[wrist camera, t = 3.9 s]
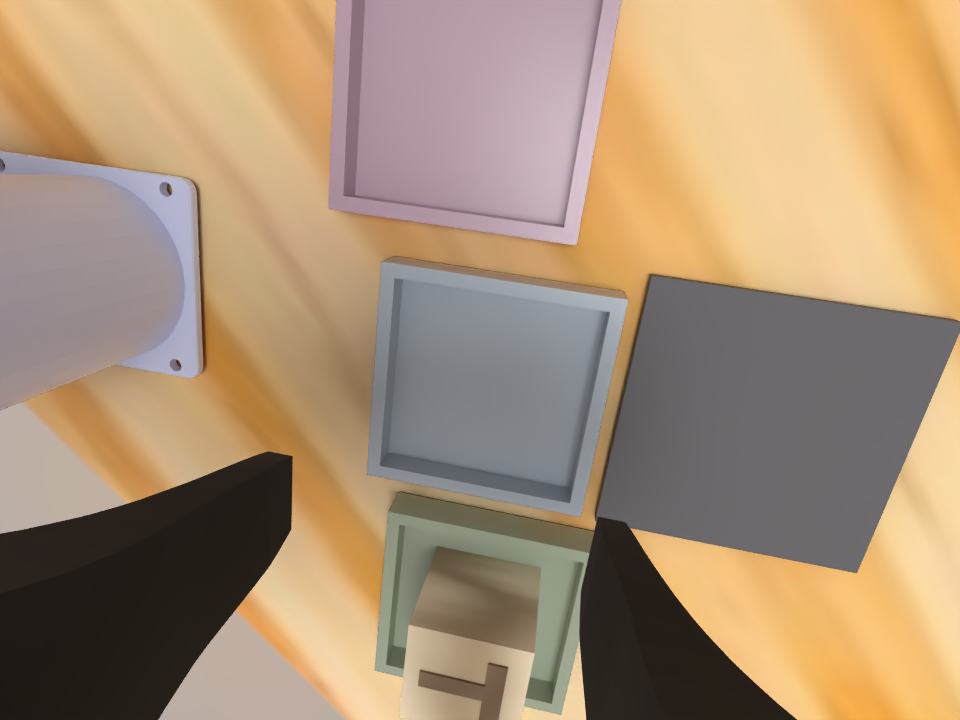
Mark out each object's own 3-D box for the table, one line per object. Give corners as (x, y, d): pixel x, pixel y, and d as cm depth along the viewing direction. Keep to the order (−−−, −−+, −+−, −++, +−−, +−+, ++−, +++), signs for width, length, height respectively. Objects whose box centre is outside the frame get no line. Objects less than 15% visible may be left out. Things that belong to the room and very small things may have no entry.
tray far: (385, 644, 26) (374, 670, 25) (399, 491, 24) (388, 511, 22) (561, 685, 25) (560, 714, 24) (597, 532, 23) (599, 554, 21)
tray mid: (379, 456, 23) (366, 474, 22) (394, 255, 21) (381, 261, 19) (580, 496, 22) (580, 517, 21) (624, 291, 20) (628, 300, 18)
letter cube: (427, 627, 25) (397, 719, 21) (437, 546, 24) (407, 626, 19) (524, 649, 25) (515, 748, 20) (541, 567, 23) (534, 655, 19)
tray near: (345, 207, 20) (328, 208, 19) (358, -68, 18) (339, -90, 16) (576, 241, 19) (576, 245, 18) (627, -43, 17) (633, -64, 15)
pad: (595, 515, 23) (595, 520, 22) (650, 273, 19) (651, 275, 19) (851, 566, 21) (856, 573, 21) (955, 319, 18) (963, 322, 18)
